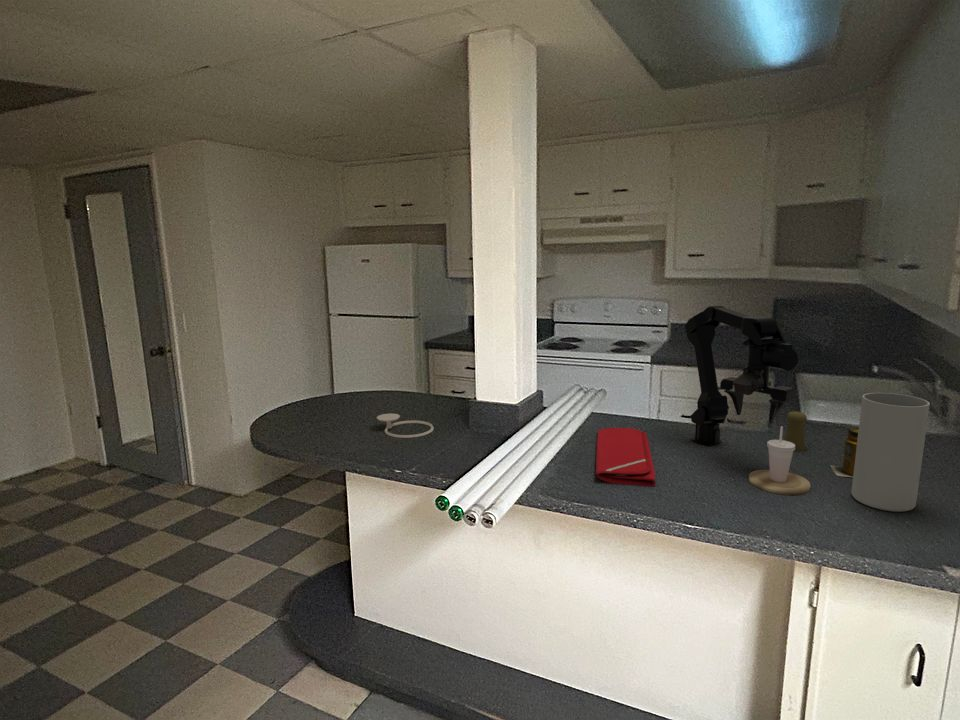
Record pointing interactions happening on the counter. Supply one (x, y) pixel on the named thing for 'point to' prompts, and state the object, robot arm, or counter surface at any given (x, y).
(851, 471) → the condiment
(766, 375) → the robot arm
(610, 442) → the dish drying mat
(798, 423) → the cork
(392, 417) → the hand towel holder
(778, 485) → the plate
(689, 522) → the counter surface
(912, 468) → the cylinder vase
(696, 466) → the counter surface
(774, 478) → the smoothie
